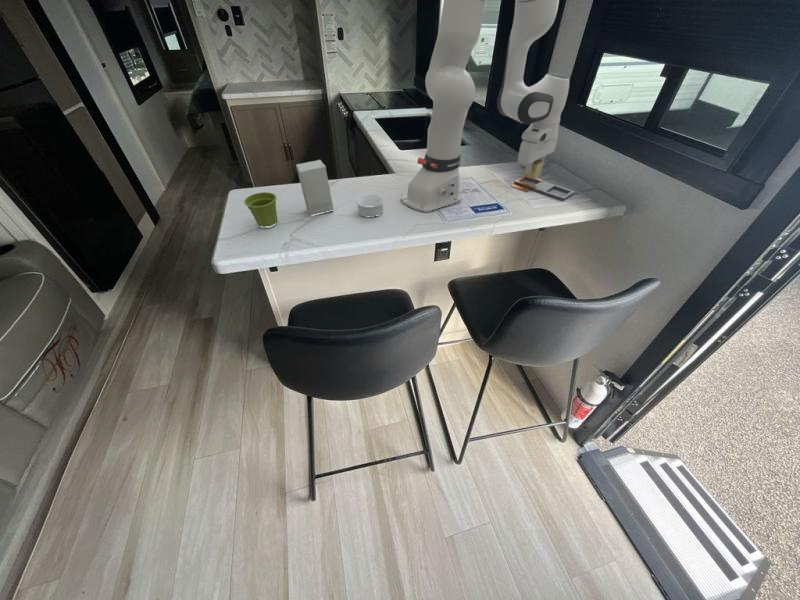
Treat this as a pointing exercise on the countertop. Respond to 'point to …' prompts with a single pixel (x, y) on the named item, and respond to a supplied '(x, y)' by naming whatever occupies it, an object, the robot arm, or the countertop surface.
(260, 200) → the plant pot
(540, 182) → the rail
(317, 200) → the skincare box
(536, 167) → the yellow square block
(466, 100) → the robot arm
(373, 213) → the ramekin
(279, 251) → the countertop surface
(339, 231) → the countertop surface
